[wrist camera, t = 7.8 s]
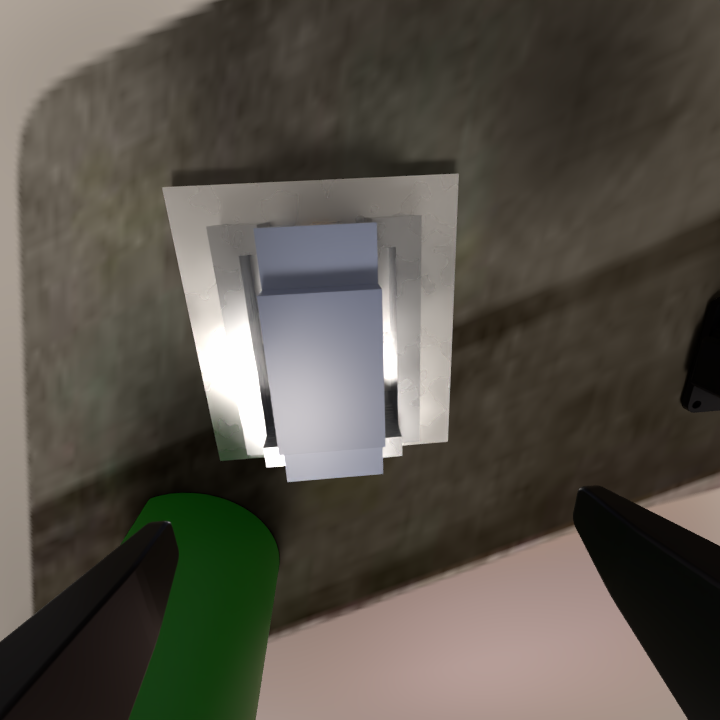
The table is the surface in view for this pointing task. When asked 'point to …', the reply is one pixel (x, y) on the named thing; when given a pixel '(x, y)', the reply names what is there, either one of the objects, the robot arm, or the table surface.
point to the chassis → (242, 285)
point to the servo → (324, 347)
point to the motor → (210, 612)
